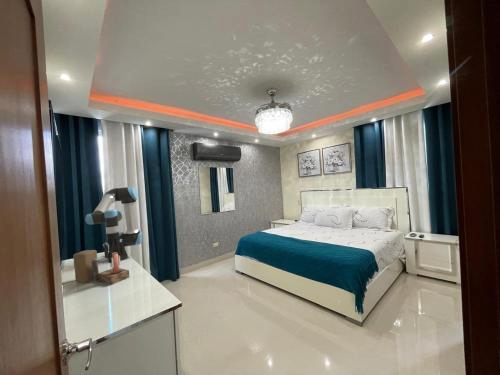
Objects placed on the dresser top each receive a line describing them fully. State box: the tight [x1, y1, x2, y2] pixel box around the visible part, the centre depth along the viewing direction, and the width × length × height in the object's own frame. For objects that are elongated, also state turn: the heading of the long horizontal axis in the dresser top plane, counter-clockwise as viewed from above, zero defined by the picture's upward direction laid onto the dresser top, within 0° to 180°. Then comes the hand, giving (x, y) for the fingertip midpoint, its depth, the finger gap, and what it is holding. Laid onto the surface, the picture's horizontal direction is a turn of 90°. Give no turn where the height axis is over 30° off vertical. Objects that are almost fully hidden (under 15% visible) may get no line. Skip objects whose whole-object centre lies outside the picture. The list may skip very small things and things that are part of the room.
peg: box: [111, 253, 120, 275], centre depth 152 cm, size 4×4×14 cm
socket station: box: [92, 252, 130, 285], centre depth 155 cm, size 16×19×16 cm
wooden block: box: [73, 249, 100, 284], centre depth 156 cm, size 10×10×20 cm
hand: (115, 265), depth 153 cm, fingers closed on peg, 4 cm apart
